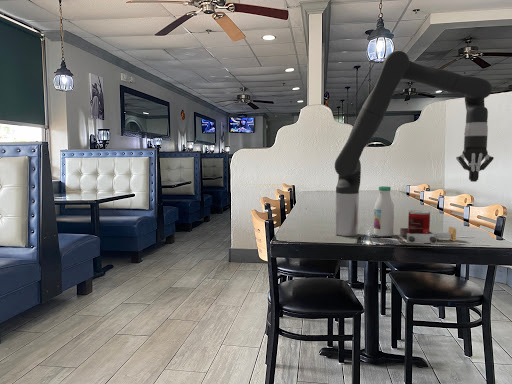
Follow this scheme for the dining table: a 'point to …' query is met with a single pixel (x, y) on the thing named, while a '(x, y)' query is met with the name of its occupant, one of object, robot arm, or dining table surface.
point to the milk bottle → (384, 213)
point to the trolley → (428, 235)
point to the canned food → (419, 221)
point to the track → (442, 243)
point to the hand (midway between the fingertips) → (473, 181)
